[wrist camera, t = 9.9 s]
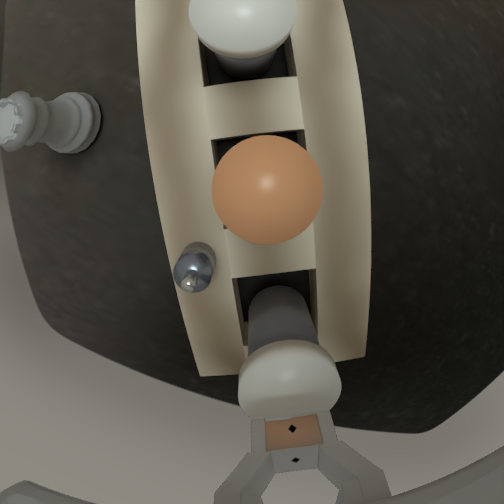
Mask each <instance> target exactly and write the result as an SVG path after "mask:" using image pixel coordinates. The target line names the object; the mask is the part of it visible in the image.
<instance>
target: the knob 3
mask: <svg viewBox="0 0 504 504" xmlns="http://www.w3.org/2000/svg"><path fill="white" fill-rule="evenodd" d="M340 393H341V380H340V377H339V374H338V371H337V368H336V365H335V363H334V360H333V358H332V356H331V355H330V354H329V352H328V351H327V350H325V349H324V348H323V347H321V346H320V345H319V341H318V338H317V335H316V332H315V329H314V326H313V323H312V320H311V317H310V313H309V310H308V307H307V304H306V301H305V299H304V298H303V296H302V295H301V294H300V293H299V292H298V291H297V290H295V289H293V288H291V287H288V286H280V285H279V286H271V287H268V288H265V289H263V290H262V291H260V292H259V293H257V294H256V295H255V297H254V298H253V299H252V301H251V303H250V306H249V319H248V358H247V359H246V360H245V361H244V363H243V364H242V367H241V369H240V372H239V386H238V401H239V404H240V406H241V408H242V410H243V411H244V412H245V413H246V414H247V415H248V416H249V417H251V418H252V419H265V418H277V417H288V416H292V415H299V414H305V413H311V412H319V411H325V410H330V409H331V408H332V407H333V406H334V405H335V403H336V402H337V400H338V398H339V396H340Z"/></svg>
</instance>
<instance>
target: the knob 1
mask: <svg viewBox="0 0 504 504" xmlns="http://www.w3.org/2000/svg"><path fill="white" fill-rule="evenodd" d="M296 15H297V2H296V0H190V3H189V19H190V22H191V25H192V26H193V28H194V30H195V32H196V34H197V36H198V38H199V39H200V40H201V42H202V43H203V44H204V45H205V46H206V47H208V48H209V49H210V50H212V51H214V54H215V56H216V59H217V61H218V64H219V66H220V67H221V69H222V70H223V71H224V72H225V73H227V74H228V75H230V76H232V77H235V78H238V79H252V78H256V77H258V76H261V75H262V74H264V73H265V72H266V71H267V70H268V69H269V68H270V67H271V65H272V64H273V61H274V57H275V54H276V50H277V48H278V47H279V46H280V45H281V44H282V43H284V41H285V40H286V39H287V38H288V36H289V34H290V32H291V30H292V27H293V25H294V22H295V19H296Z"/></svg>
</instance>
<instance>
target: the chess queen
mask: <svg viewBox="0 0 504 504" xmlns="http://www.w3.org/2000/svg"><path fill="white" fill-rule="evenodd" d="M100 119H101V114H100V110H99V105H98V103H97V102H96V101H95V99H94V98H93V97H92V96H91V95H88V94H86V93H84V92H81V93H78V92H69V93H64V94H63V95H61V96H59V97H58V98H56V99H54V100H53V101H43V99H41V98H38V97H33V98H31V97H30V95H29V94H28V93H26V92H24V91H18V92H14V93H13V94H12V95H10V96H9V97H8V98H2V99H1V100H0V145H1V147H2V148H4V149H5V150H7V151H16V150H18V149H19V148H21V147H22V146H23V145H25V146H26V145H33V144H34V143H36V142H44V143H46V144H47V145H49V147H50V148H52V149H53V150H55V151H57V152H59V153H78V152H80V151H82V150H84V149H86V148H87V147H88V146H89V145H90V144H91V143H92V142H93V141H94V139H95V137H96V135H97V133H98V130H99V128H100Z"/></svg>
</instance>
